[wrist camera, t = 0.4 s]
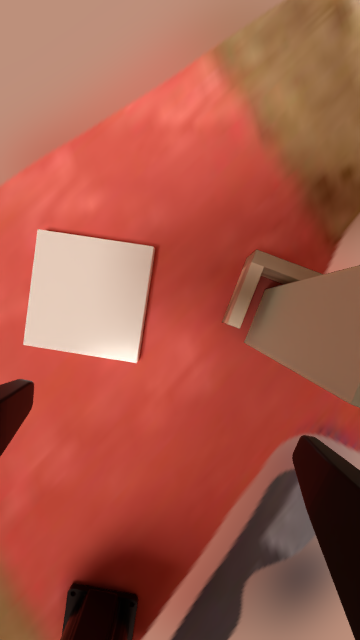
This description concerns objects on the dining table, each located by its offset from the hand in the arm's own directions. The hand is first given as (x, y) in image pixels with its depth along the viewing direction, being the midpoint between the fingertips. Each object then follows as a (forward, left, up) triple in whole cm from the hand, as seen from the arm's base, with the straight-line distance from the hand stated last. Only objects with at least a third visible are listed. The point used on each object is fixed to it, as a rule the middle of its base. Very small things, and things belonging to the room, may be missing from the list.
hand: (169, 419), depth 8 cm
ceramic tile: (+4, +9, -14) cm, 17 cm away
